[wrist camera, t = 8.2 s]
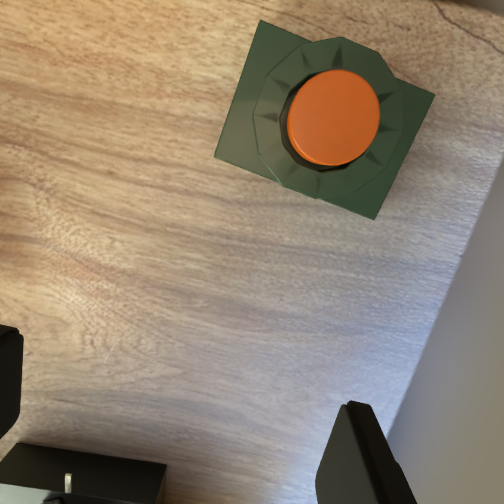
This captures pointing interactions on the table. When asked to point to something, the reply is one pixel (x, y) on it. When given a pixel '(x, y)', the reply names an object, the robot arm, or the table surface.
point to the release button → (333, 118)
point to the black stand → (77, 478)
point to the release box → (278, 104)
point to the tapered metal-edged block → (53, 502)
